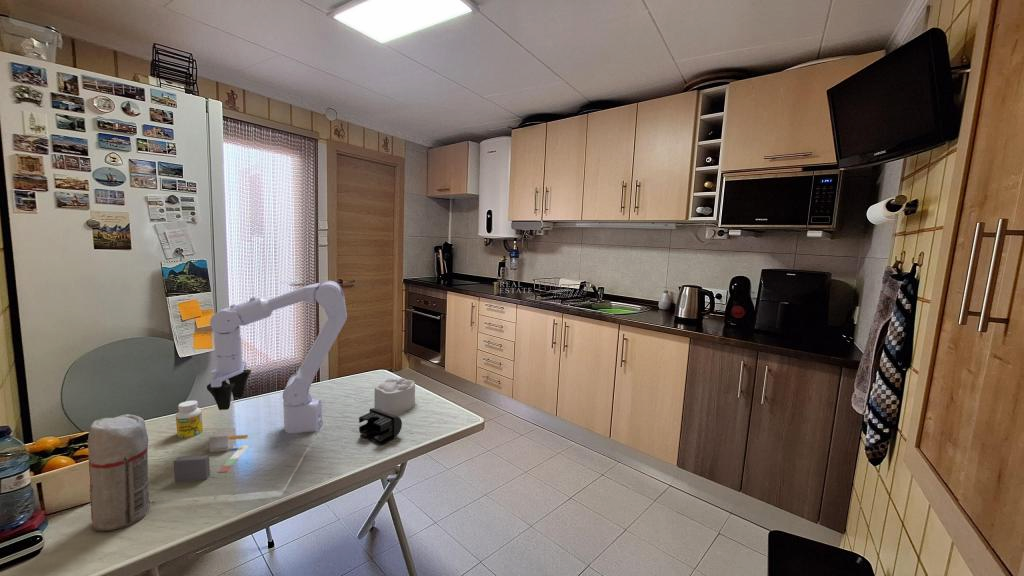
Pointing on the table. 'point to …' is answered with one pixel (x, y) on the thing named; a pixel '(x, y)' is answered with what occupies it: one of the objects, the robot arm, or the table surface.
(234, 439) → the grey block
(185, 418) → the supplement bottle
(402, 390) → the lumpy-topped squat cylinder
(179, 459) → the gauge board
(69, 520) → the table surface
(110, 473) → the paper flour sack
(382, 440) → the end cap
